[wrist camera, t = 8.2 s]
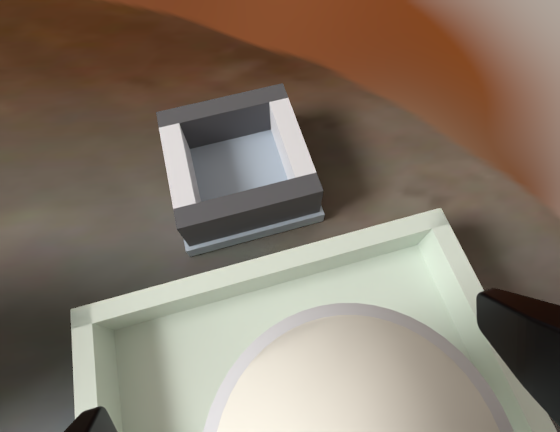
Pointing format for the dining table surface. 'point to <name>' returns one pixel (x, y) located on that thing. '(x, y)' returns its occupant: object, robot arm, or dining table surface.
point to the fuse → (354, 378)
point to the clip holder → (238, 169)
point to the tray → (269, 311)
